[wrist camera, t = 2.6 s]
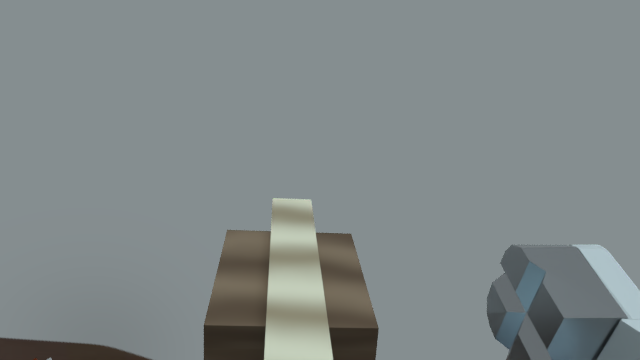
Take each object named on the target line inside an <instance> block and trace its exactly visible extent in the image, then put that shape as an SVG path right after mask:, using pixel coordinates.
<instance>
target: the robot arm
mask: <svg viewBox="0 0 640 360" xmlns="http://www.w3.org/2000/svg"><path fill="white" fill-rule="evenodd" d="M501 265H502V267H503V269H504V271H505V273H504V274H503V275H501V276H500V277H499V278H498V279H496V280H495V281H494V282H493V283H492V285H491V288H490V291H489V294H488V297H487V316H488V320H489V324H490V328H491V330H492V332H493V334H494V337H495V339H497V340H498V341H499V342H500V343H502V344H503V345H504V346H505V347H507V348H508V349H509V352H508V356H507V359H506V360H640V291H639V289H638V288H637V287H636V286H635V284H634V283H633V282H632V281H631V279H630V278H629V277H628V275H627V274H626V273H625V272H624V270H623V269H622V268H621V267H620V265H619V264H618V263H617V261H616V260H615V259H614V258H613V256H612V255H611V254H610V253H609V251H608V250H607V249H605V248H604V247H602V246H600V245H598V244H593V245H592V244H590V245H588V244H586V245H511V246H510V247H509V248H508V249H507V250H506V251H505V253H504V255H503V258H502V260H501Z"/></svg>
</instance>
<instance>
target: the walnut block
mask: <svg viewBox="0 0 640 360" xmlns="http://www.w3.org/2000/svg"><path fill="white" fill-rule="evenodd" d="M316 239H317V246H318V253H319V261H320V268H321V275H322V282H323V289H324V297H325V304H326V311H327V318H328V326H329V333H330V340H331V347H332V354H333V360H375V357H376V348H377V338H378V325H377V322H376V318H375V315H374V311H373V308H372V305H371V301H370V297H369V294H368V291H367V287H366V283H365V280H364V277H363V273H362V270H361V266H360V263H359V259H358V256H357V252H356V249H355V246H354V242H353V239H352V236H351V234H341V233H340V234H338V233H316ZM270 240H271V231H241V230H227V233H226V237H225V241H224V246H223V250H222V254H221V258H220V262H219V266H218V270H217V274H216V278H215V282H214V287H213V290H212V295H211V298H210V303H209V306H208V311H207V315H206V319H205V323H204V360H264V350H265V332H266V313H267V295H268V277H269V259H270Z"/></svg>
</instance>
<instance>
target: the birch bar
mask: <svg viewBox="0 0 640 360" xmlns="http://www.w3.org/2000/svg"><path fill="white" fill-rule="evenodd" d="M264 360H333V354H332V347H331V340H330V333H329V326H328V318H327V311H326V304H325V297H324V289H323V282H322V275H321V268H320V261H319V253H318V246H317V239H316V232H315V225H314V218H313V210H312V203H311V200H310V199H309V200H308V199H281V198H273V204H272V222H271V240H270V259H269V277H268V295H267V313H266V332H265V350H264Z"/></svg>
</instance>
